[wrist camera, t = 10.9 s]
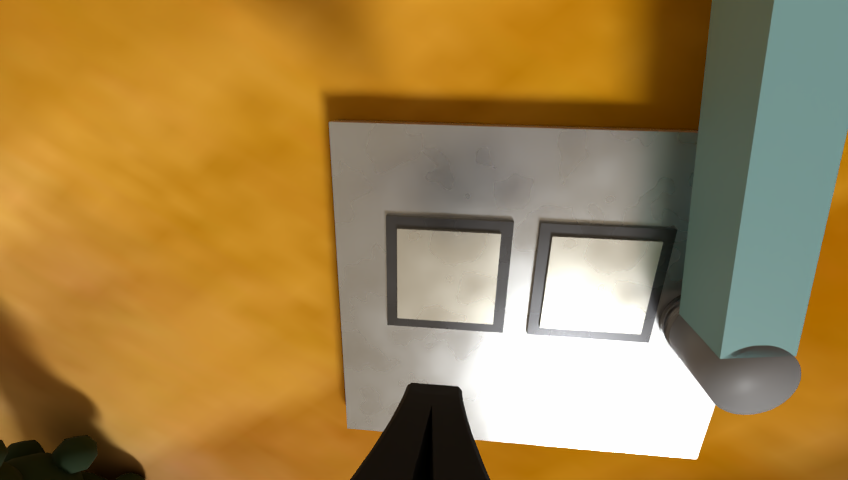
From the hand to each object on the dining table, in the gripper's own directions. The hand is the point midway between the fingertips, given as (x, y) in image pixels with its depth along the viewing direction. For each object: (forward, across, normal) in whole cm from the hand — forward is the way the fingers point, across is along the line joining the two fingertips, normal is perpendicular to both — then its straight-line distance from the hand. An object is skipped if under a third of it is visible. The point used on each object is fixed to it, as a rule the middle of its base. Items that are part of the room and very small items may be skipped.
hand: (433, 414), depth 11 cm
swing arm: (+7, -10, -6) cm, 14 cm away
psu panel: (+9, -4, +2) cm, 10 cm away
